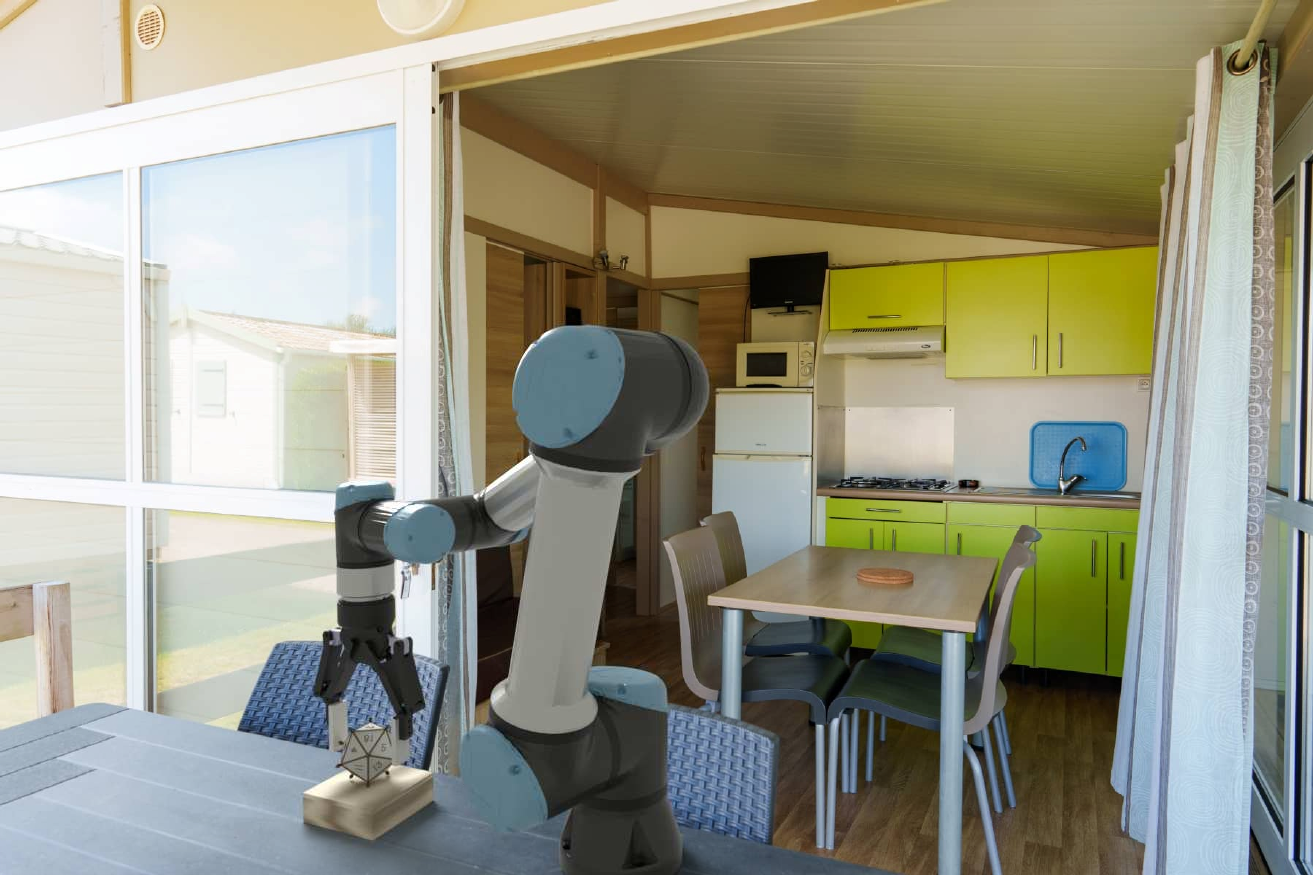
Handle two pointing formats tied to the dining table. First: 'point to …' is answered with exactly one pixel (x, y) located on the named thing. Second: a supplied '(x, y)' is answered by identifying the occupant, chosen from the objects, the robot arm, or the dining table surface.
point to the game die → (367, 752)
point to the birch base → (368, 801)
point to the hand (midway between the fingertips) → (369, 755)
